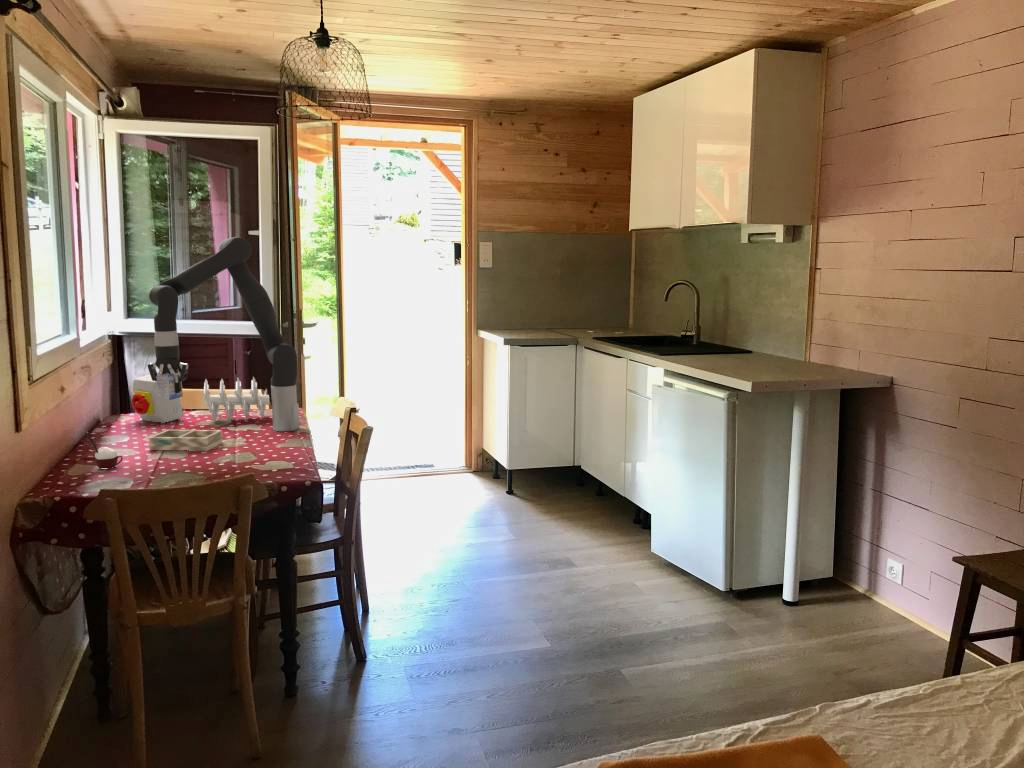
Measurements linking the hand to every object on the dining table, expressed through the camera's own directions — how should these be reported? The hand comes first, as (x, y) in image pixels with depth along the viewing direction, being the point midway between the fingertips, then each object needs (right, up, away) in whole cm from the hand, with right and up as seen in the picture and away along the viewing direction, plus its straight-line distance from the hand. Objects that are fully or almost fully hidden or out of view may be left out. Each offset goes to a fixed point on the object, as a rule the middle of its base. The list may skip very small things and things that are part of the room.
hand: (170, 392), depth 278 cm
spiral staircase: (+7, -12, +48) cm, 50 cm away
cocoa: (-9, -23, -26) cm, 36 cm away
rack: (+5, -19, +2) cm, 20 cm away
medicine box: (0, -2, 0) cm, 2 cm away
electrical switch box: (-26, -12, +47) cm, 55 cm away
